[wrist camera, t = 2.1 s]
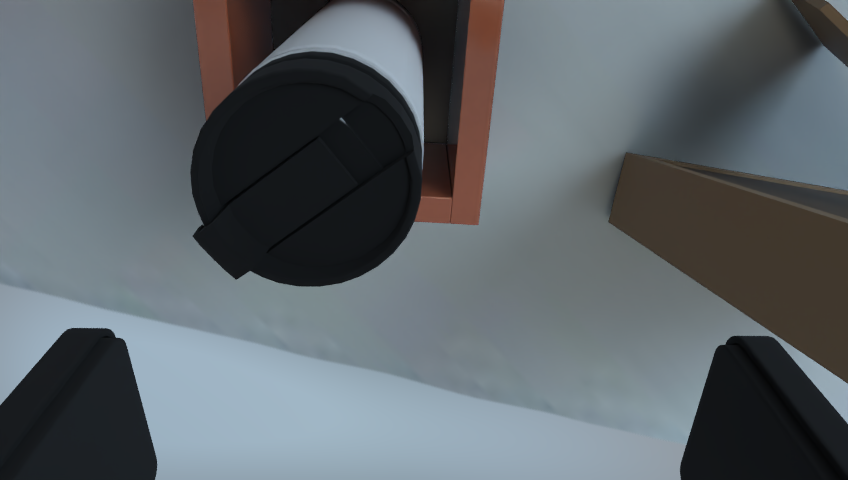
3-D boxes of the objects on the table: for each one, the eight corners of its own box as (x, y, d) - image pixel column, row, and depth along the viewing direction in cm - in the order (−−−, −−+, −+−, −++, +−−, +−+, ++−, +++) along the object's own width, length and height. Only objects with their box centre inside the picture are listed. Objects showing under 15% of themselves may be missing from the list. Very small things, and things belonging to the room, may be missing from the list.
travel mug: (281, 39, 33) (121, 177, 15) (376, -37, 31) (319, 20, 14) (352, 129, 36) (284, 337, 18) (444, 63, 34) (470, 222, 16)
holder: (255, 154, 36) (215, 211, 29) (238, -87, 30) (182, -90, 23) (467, 166, 37) (478, 225, 30) (491, -70, 31) (512, -67, 24)
